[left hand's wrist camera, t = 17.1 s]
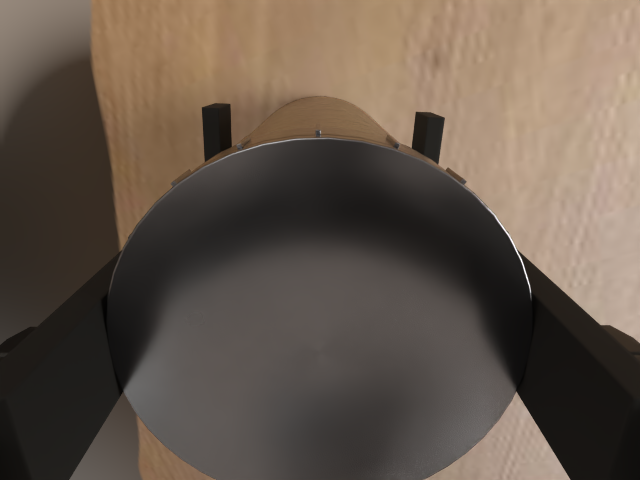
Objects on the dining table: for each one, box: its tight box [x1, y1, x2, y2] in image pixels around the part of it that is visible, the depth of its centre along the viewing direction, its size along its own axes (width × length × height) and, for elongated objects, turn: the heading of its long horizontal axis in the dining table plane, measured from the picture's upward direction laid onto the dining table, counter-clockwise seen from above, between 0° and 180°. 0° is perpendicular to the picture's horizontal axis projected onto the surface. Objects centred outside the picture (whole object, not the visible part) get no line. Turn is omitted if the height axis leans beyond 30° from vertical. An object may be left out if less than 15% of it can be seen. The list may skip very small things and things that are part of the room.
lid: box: [106, 123, 533, 480], centre depth 11 cm, size 10×10×2 cm
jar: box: [249, 96, 390, 139], centre depth 20 cm, size 9×9×19 cm
